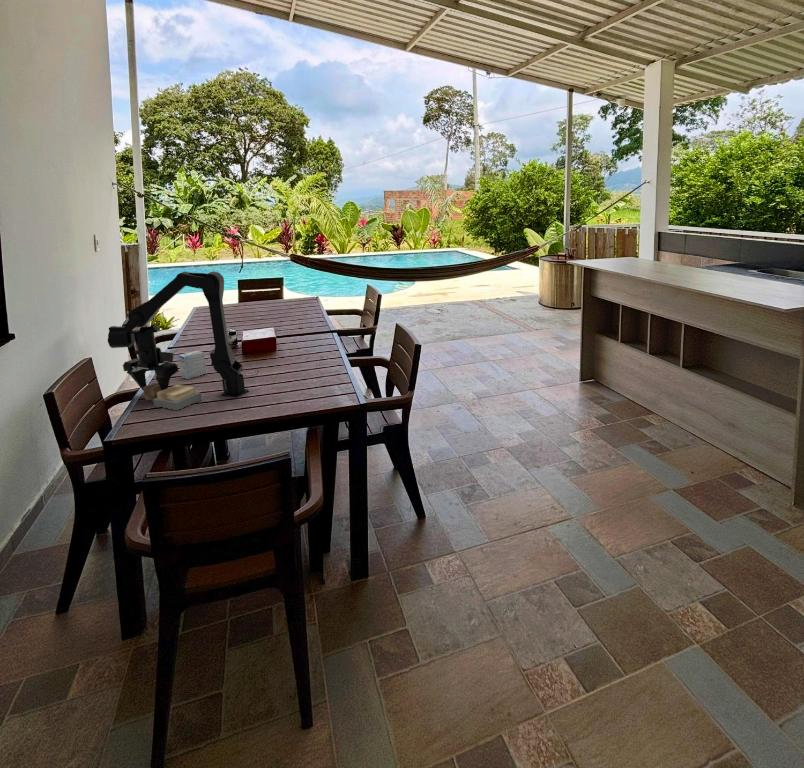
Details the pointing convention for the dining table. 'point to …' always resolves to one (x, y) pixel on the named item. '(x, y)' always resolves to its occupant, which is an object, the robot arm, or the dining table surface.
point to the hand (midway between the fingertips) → (155, 392)
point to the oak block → (176, 393)
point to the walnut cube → (151, 391)
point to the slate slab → (178, 404)
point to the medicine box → (192, 364)
